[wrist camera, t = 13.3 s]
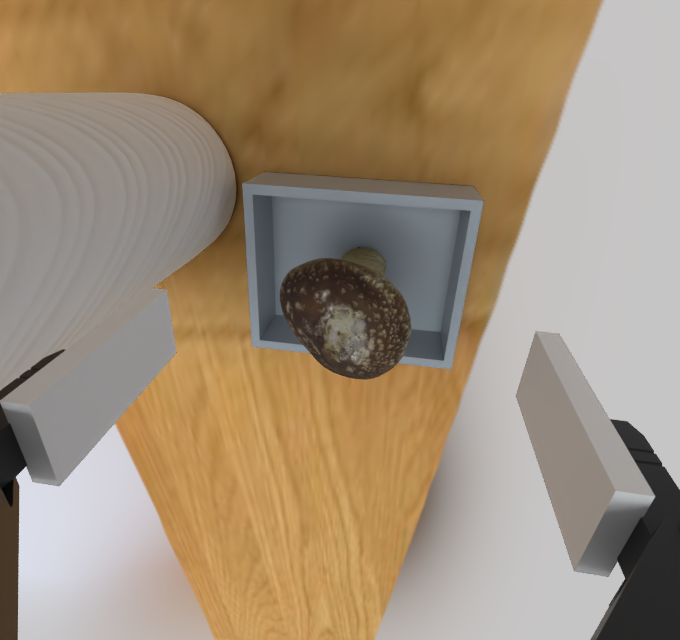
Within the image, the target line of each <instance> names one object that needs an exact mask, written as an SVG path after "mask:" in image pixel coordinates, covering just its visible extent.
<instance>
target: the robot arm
mask: <svg viewBox="0 0 680 640" xmlns="http://www.w3.org/2000/svg"><path fill="white" fill-rule="evenodd" d="M176 353H177V352H176V346H175V339H174V333H173V326H172V320H171V313H170V307H169V300H168V294H167V290H164V289H156V288H146V289H145V290H143V291H142V292H141V293H140V294H138V295H137V296H136V297H134V298H133V299H132V300H130V301H129V302H128V303H127V304H125V305H124V306H123V307H121V308H120V309H119V310H117V311H116V312H115V313H113V314H112V315H111V316H110V317H108V318H107V319H106V320H104V321H103V322H102V323H100V324H99V325H98V326H97V327H95V328H94V329H93V330H91V331H90V332H89V333H87V334H86V335H85V336H84V337H82V338H81V339H80V340H78V341H77V342H76V343H74V344H73V345H72V346H71V347H69V348H68V349H67V350H64V349H62V350H60V351H58V352H55V353H53V354H51V355H49V356H47V357H44V358H43V359H42V360H40V361H39V362H38V363H36V364H35V365H34V366H32V367H31V369H30V370H27V371H26V372H24V373H23V374H22V375H20V377H19V378H16V379H15V380H13V381H12V382H11V383H9V384H8V385H7V386H5V387H4V388H3V389H1V390H0V640H18V639H17V638H18V637H17V636H18V553H19V544H18V543H19V484H18V482H17V479H16V476H17V475H18V474H19V473H20V472H21V471H22V470H23V469H24V468H25V467H26V466H27V469H28V471H29V474H30V476H31V479H32V481H33V482H37V483H42V484H48V485H55V486H60V485H61V484H62V483H63V482H64V480H65V479H66V478H67V477H68V476H69V475H70V474H71V472H72V471H73V470H74V469H75V468H76V467H77V466H78V464H79V463H80V462H81V461H82V460H83V459H84V458H85V456H86V455H87V454H88V453H89V452H90V451H91V450H92V448H93V447H94V446H95V445H96V444H97V443H98V441H100V439H101V438H102V437H103V436H104V435H105V434H106V433H107V431H108V430H109V429H110V428H111V427H112V426H113V425H114V423H115V422H116V421H117V420H118V419H119V418H120V417H121V415H122V414H123V413H124V412H125V411H126V410H127V409H128V407H129V406H130V405H131V404H132V403H133V402H134V401H135V399H136V398H137V397H138V396H139V395H140V394H141V393H142V392H143V390H144V389H145V388H146V387H147V386H148V385H149V384H150V382H151V381H152V380H153V379H154V378H155V377H156V376H157V374H158V373H159V372H160V371H161V370H162V369H163V368H164V366H165V365H166V364H167V363H168V362H169V361H170V360H171V358H172V357H173V356H174V355H175V354H176ZM516 398H517V401H518V404H519V407H520V410H521V412H522V416H523V419H524V422H525V425H526V428H527V431H528V434H529V437H530V440H531V443H532V446H533V449H534V452H535V455H536V458H537V461H538V464H539V467H540V470H541V473H542V476H543V479H544V482H545V485H546V488H547V490H548V494H549V497H550V500H551V503H552V506H553V509H554V512H555V515H556V518H557V521H558V524H559V527H560V530H561V533H562V536H563V539H564V542H565V545H566V548H567V551H568V554H569V557H570V560H571V563H572V566H573V569H574V571H576V572H582V573H588V574H594V575H600V576H606V577H608V576H609V575H610V573H611V572H612V570H613V568H614V566H615V565H616V563H617V561H618V563H619V565H620V567H621V569H622V571H623V574H624V576H625V580H624V582H623V583H622V585H621V586H620V588H619V590H618V591H617V593H616V595H615V596H614V598H613V600H612V601H611V603H610V604H609V608H608V610H607V611H606V613H605V615H604V617H603V619H602V621H601V622H600V624H599V626H598V628H597V629H596V631H595V633H594V635H593V637H592V638H591V640H680V490H679V489H678V487H677V485H676V484H675V483H674V481H673V479H672V478H671V476H670V475H669V473H668V472H667V470H666V469H665V467H662V463H661V461H660V460H659V458H658V457H657V455H656V454H654V450H653V449H652V448H651V446H650V444H649V443H648V441H647V440H646V438H645V437H644V436H643V435H642V434H641V433H640V432H639V431H638V430H637V429H635V428H634V427H633V426H632V425H631V424H630V423H628V422H627V421H619V420H612V419H609V417H608V415H607V414H606V412H605V410H604V408H603V407H602V405H601V403H600V402H599V400H598V399H597V397H596V395H595V393H594V392H593V390H592V388H591V386H590V385H589V383H588V382H587V380H586V378H585V376H584V375H583V373H582V371H581V369H580V368H579V366H578V365H577V363H576V361H575V359H574V358H573V356H572V354H571V353H570V351H569V349H568V347H567V346H566V344H565V342H564V341H563V339H562V337H561V336H560V334H557V333H547V332H539V331H536V332H535V335H534V339H533V342H532V345H531V348H530V352H529V355H528V358H527V361H526V364H525V368H524V371H523V374H522V377H521V381H520V384H519V387H518V390H517V394H516Z"/></svg>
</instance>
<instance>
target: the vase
mask: <svg viewBox="0 0 680 640" xmlns="http://www.w3.org/2000/svg"><path fill="white" fill-rule="evenodd" d="M235 201H236V179H235V172H234V169H233V165H232V161H231V159H230V156H229V154H228V152H227V149H226V147H225V146H224V144H223V142H222V140H221V139H220V137H219V136H218V134H217V133H216V132H215V130H214V129H213V128H212V127H211V125H210V124H209V123H208V122H207V121H205V120H204V119H203V118H202V117H201V116H200V115H199V114H198V113H196V112H195V111H193V110H192V109H191V108H189V107H187V106H185V105H184V104H182V103H180V102H178V101H175V100H172V99H169V98H166V97H163V96H157V95H150V94H142V93H124V92H84V93H0V390H1V389H3V388H4V387H5V386H7V385H8V384H9V383H11V382H12V381H13V380H15V379H16V378H19V377H20V375H22V374H23V373H24V372H26V371H27V370H30V369H31V367H32V366H34V365H35V364H36V363H38V362H39V361H40V360H42V359H43V358H44V357H47V356H49V355H51V354H53V353H55V352H58V351H60V350H62V349H64V350H66V349H68V348H69V347H71V346H72V345H73V344H74V343H76V342H77V341H78V340H80V339H81V338H82V337H84V336H85V335H86V334H87V333H89V332H90V331H91V330H93V329H94V328H95V327H97V326H98V325H99V324H100V323H102V322H103V321H104V320H106V319H107V318H108V317H110V316H111V315H112V314H113V313H115V312H116V311H117V310H119V309H120V308H121V307H123V306H124V305H125V304H127V303H128V302H129V301H130V300H132V299H133V298H134V297H136V296H137V295H138V294H140V293H141V292H142V291H143V290H145V289H146V288H153V287H154V286H156V285H157V284H158V283H160V282H161V281H163V280H164V279H165V278H167V277H168V276H170V275H171V274H172V273H174V272H175V271H177V270H178V269H179V268H181V267H182V266H183V265H185V264H186V263H187V262H189V261H190V260H192V259H193V258H194V257H195V256H197V255H198V254H199V253H200V252H202V251H203V250H204V249H205V248H207V247H208V246H209V245H210V244H211V243H212V242H214V241H215V240H216V239H217V238H218V236H219V235H220V234H221V233H222V232H223V231H224V229H225V228H226V226H227V224H228V222H229V221H230V219H231V216H232V213H233V210H234V206H235Z"/></svg>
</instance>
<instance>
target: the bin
mask: <svg viewBox="0 0 680 640" xmlns="http://www.w3.org/2000/svg"><path fill="white" fill-rule="evenodd" d="M242 189H243V206H244V222H245V239H246V256H247V272H248V289H249V306H250V322H251V339H252V347H260V348H269V349H278V350H286V351H295V352H304V353H310V352H309V351H308V350H307V349H306V348H305V347H304V346H303V345H302V343H301V342H300V341H299V340H298V339H297V337H296V336H295V334H294V333H293V332H292V330H291V329H290V327H289V326H288V324H287V322H286V320H285V318H284V315H283V312H282V308H281V304H280V287H281V284H282V281H283V279H284V277H285V276H286V274H287V273H288V272H289V271H290V270H291V269H293V268H295V267H297V266H299V265H301V264H303V263H306V262H308V261H311V260H314V259H319V258H333V259H340V260H341V258H342V257H343V255H344V254H345V253H346V252H348V251H349V250H351V249H356V248H357V247H360V248H365V247H366V248H372V249H374V250H376V251H378V252H379V253H380V254H381V255H382V256H383V257H384V259H385V260H386V269H385V273H384V275H385V276H386V279H387V280H388V281H390V282H391V283H392V284H393V285H394V286H395V287H396V288H397V289H398V290H399V292H400V293H401V294H402V295H403V297H404V299H405V301H406V304H407V307H408V311H409V315H410V318H411V327H412V330H411V335H410V339H409V343H408V345H407V348H406V350H405V353H404V355H403V357H402V359H401V360H400V361H399V362H398V363H400V364H409V365H418V366H427V367H435V368H444V369H452V364H453V359H454V354H455V349H456V343H457V338H458V333H459V328H460V322H461V317H462V312H463V307H464V302H465V296H466V291H467V286H468V281H469V276H470V270H471V265H472V260H473V255H474V249H475V244H476V239H477V234H478V229H479V223H480V218H481V213H482V208H483V202H484V200H483V199H482V197H481V196H480V195H479V193H478V192H477V190H476V189H475V187H474V186H465V185H450V184H436V183H421V182H407V181H392V180H377V179H363V178H348V177H334V176H319V175H304V174H290V173H275V172H263V173H261V174H259V175H258V176H256V177H254V178H252V179H250V180H248V181H246V182H244V183H242Z"/></svg>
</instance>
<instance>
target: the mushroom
mask: <svg viewBox="0 0 680 640" xmlns="http://www.w3.org/2000/svg"><path fill="white" fill-rule="evenodd" d="M385 269H386V260H385V259H384V257H383V256H382V255H381V254H380V253H379V252H378V251H376V250H374V249H372V248H366V247H365V248H360V247H357V248H356V249H351V250H349V251H348V252H346V253H345V254H344V255H343V257H342V258H341V260H340V259H333V258H319V259H314V260H311V261H308V262H306V263H303V264H301V265H299V266H297V267H295V268H293V269H291V270H290V271H289V272H288V273H287V274H286V276H285V277H284V279H283V281H282V284H281V287H280V304H281V308H282V312H283V315H284V318H285V320H286V322H287V324H288V326H289V327H290V329H291V330H292V332H293V333H294V334H295V336H296V337H297V339H298V340H299V341H300V342H301V343H302V345H303V346H304V347H305V348H306V349H307V350H308V351H309V352H310V353H311V354H312V355H313V357H314V358H315V359H316V360H317V361H318V362H319V363H320V364H321V365H323V366H324V367H325V368H327V369H329V370H330V371H332V372H334V373H336V374H339V375H342V376H346V377H350V378H355V379H366V380H367V379H372V378H376V377H378V376H380V375H382V374H384V373H386V372H387V371H389V370H390V369H392V368H393V367H394V366H396V365H397V364H398V362H399V361H400V360H401V359H402V357H403V355H404V353H405V350H406V348H407V345H408V343H409V339H410V335H411V330H412V327H411V318H410V315H409V311H408V307H407V304H406V301H405V299H404V297H403V295H402V294H401V293H400V292H399V290H398V289H397V288H396V287H395V286H394V285H393V284H392V283H391V282H390V281H388V280H387V279H386V276H385V275H384V273H385Z"/></svg>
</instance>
